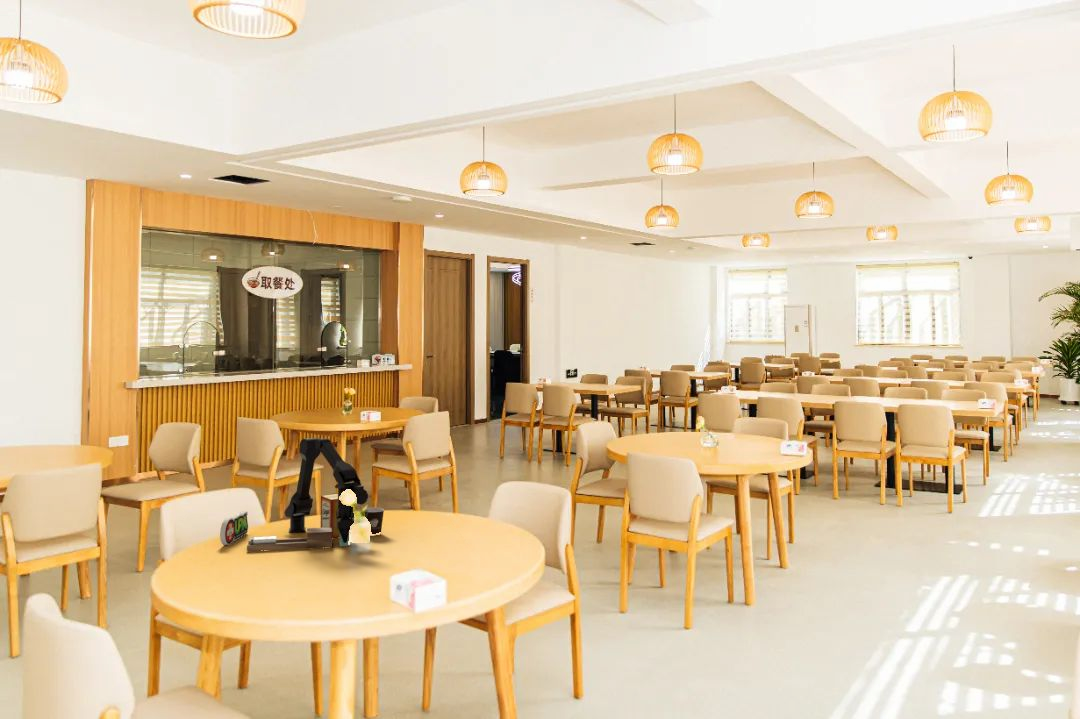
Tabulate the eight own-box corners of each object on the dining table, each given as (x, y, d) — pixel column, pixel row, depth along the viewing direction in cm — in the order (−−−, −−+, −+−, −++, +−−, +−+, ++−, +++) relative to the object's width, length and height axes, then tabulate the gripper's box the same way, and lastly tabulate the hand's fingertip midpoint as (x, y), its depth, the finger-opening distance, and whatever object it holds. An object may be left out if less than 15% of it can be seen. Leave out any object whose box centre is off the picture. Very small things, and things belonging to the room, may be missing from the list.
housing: (248, 547, 292) (248, 531, 292) (331, 542, 301) (331, 527, 301) (246, 552, 285) (247, 535, 285) (331, 547, 294) (331, 531, 294)
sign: (243, 533, 313) (244, 509, 313) (248, 533, 313) (248, 509, 313) (219, 548, 291) (220, 521, 291) (224, 548, 291) (224, 521, 291)
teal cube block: (339, 543, 299) (339, 533, 299) (350, 543, 300) (350, 532, 300) (339, 546, 295) (339, 535, 295) (350, 545, 296) (350, 535, 296)
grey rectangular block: (251, 547, 291) (251, 537, 291) (276, 546, 294) (276, 535, 294) (250, 550, 287) (250, 539, 287) (275, 549, 290) (276, 538, 290)
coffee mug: (386, 532, 319) (386, 508, 318) (379, 537, 310) (380, 512, 310) (358, 531, 320) (358, 507, 320) (351, 536, 311) (351, 511, 311)
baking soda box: (346, 536, 310) (346, 496, 310) (330, 539, 306) (331, 498, 306) (335, 532, 318) (336, 493, 317) (320, 534, 313) (320, 494, 313)
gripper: (368, 504, 291) (368, 546, 291) (365, 495, 309) (365, 534, 309) (337, 506, 288) (337, 548, 288) (336, 496, 305) (336, 535, 306)
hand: (345, 541), depth 298 cm, fingers closed on teal cube block, 4 cm apart
